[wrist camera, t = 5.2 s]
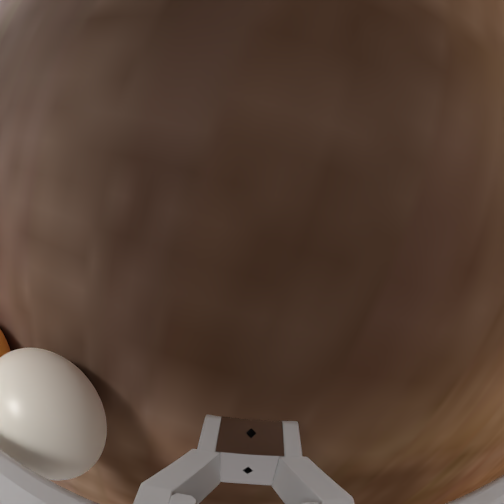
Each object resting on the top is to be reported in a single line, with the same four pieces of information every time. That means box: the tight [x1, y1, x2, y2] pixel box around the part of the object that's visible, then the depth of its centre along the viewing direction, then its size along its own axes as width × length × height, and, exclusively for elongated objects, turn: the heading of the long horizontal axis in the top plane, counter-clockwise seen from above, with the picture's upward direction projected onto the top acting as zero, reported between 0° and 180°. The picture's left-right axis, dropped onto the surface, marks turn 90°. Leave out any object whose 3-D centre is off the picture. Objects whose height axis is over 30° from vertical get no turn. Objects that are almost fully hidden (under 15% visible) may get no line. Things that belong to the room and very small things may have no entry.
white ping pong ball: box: [0, 348, 107, 480], centre depth 7 cm, size 6×6×6 cm
